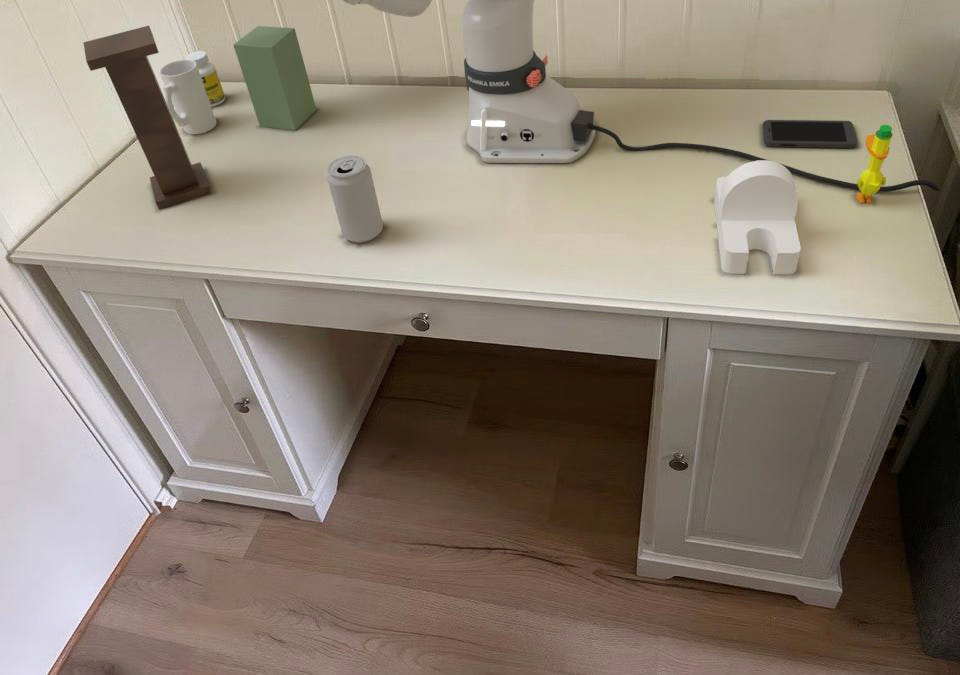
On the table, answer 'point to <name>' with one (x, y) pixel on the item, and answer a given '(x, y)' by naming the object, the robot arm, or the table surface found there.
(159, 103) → the stand
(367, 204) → the beverage can
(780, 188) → the white notched rounded piece
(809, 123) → the cell phone
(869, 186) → the toy figure
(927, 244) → the table surface
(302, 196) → the table surface
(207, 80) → the supplement bottle
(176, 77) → the mug
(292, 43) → the block
